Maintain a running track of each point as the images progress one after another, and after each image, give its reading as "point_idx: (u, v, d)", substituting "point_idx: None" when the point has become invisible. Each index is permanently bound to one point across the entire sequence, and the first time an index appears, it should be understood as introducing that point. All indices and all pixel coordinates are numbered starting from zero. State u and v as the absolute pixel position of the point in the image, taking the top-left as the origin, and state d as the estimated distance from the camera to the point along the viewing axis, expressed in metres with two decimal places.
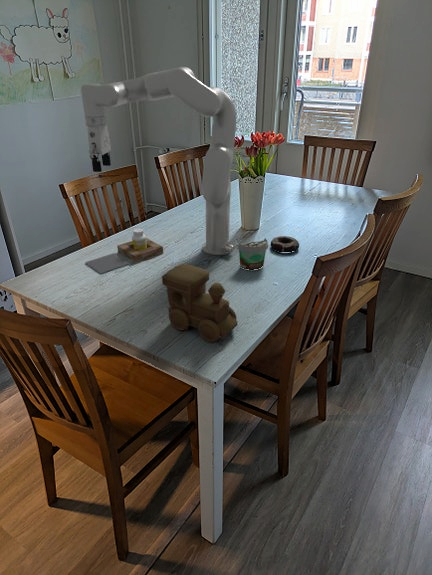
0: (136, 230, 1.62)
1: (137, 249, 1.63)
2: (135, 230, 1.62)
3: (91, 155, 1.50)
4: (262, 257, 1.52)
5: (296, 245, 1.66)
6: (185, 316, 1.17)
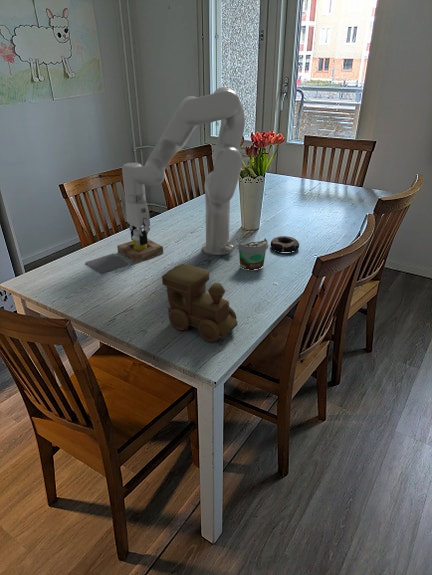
0: (136, 230, 1.62)
1: (137, 249, 1.63)
2: (135, 230, 1.62)
3: (147, 231, 1.57)
4: (262, 257, 1.52)
5: (296, 245, 1.66)
6: (185, 316, 1.17)
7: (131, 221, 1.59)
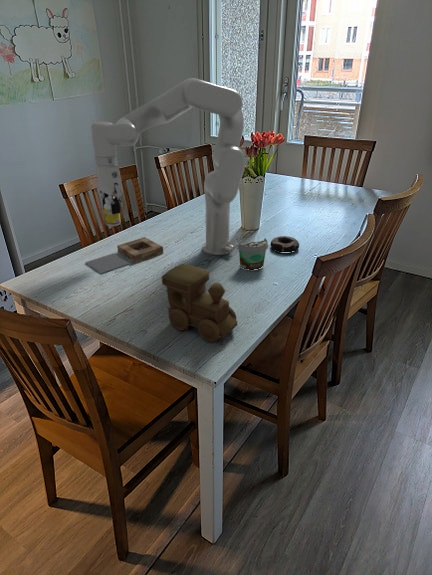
0: (108, 198, 1.48)
1: (109, 219, 1.50)
2: (107, 198, 1.48)
3: (118, 198, 1.44)
4: (262, 257, 1.52)
5: (296, 245, 1.66)
6: (185, 316, 1.17)
7: (102, 187, 1.46)
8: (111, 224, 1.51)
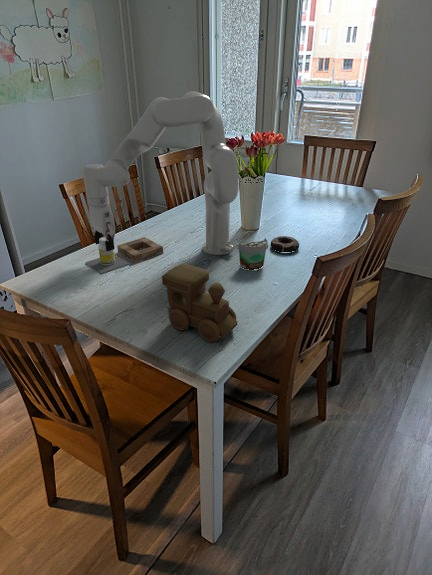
0: (102, 239, 1.53)
1: (103, 259, 1.54)
2: (101, 239, 1.53)
3: (112, 236, 1.47)
4: (262, 257, 1.52)
5: (296, 245, 1.66)
6: (185, 316, 1.17)
7: (95, 226, 1.49)
8: (106, 264, 1.55)
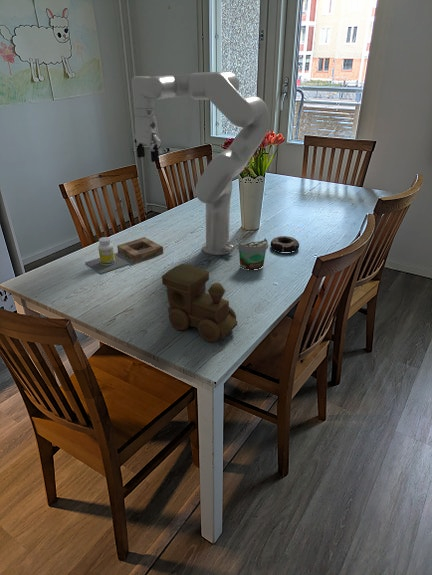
0: (102, 239, 1.53)
1: (103, 259, 1.54)
2: (101, 239, 1.53)
3: (158, 145, 1.56)
4: (262, 257, 1.52)
5: (296, 245, 1.66)
6: (185, 316, 1.17)
7: (140, 138, 1.60)
8: (106, 264, 1.55)
